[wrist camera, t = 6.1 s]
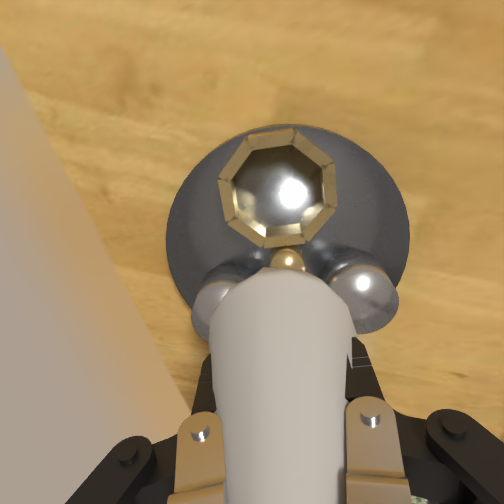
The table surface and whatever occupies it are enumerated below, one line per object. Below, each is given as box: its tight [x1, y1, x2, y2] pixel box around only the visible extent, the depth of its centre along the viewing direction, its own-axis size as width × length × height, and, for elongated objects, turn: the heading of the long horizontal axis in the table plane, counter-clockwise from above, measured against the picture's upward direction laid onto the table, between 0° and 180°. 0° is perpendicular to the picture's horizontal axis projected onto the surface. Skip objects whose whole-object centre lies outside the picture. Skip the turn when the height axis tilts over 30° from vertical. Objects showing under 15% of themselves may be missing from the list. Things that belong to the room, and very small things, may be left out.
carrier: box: [166, 124, 410, 342], centre depth 35 cm, size 23×23×7 cm
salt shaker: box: [209, 267, 357, 504], centre depth 11 cm, size 6×6×13 cm
